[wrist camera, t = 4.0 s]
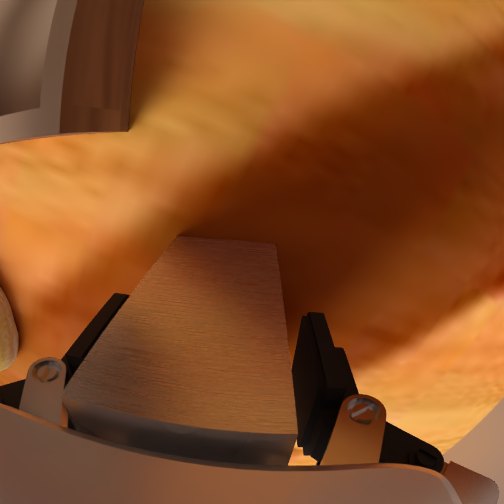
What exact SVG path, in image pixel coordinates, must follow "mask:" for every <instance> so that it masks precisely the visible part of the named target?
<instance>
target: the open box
mask: <svg viewBox="0 0 504 504" xmlns="http://www.w3.org/2000/svg"><path fill="white" fill-rule="evenodd" d="M143 3H144V0H0V144H4V143H10V142H17V141H23V140H31V139H38V138H47V137H56V136H66V135H77V134H90V133H107V132H128V125H129V109H130V97H131V86H132V76H133V67H134V59H135V51H136V44H137V37H138V31H139V25H140V19H141V13H142V8H143Z"/></svg>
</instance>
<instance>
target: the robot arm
mask: <svg viewBox="0 0 504 504" xmlns="http://www.w3.org/2000/svg"><path fill="white" fill-rule="evenodd" d="M128 298H129V295H126V294H119V293H115V294H113V296H112V297H111V298H110V299H109V300H108V301H107V303H106V304H105V305H104V306H103V307H102V309H101V310H100V311H99V312H98V314H97V315H96V316H95V317H94V318H93V320H92V321H91V322H90V323H89V325H88V326H87V327H86V328H85V330H84V331H83V332H82V333H81V335H80V336H79V337H78V339H77V340H76V341H75V342H74V344H73V345H72V346H71V347H70V349H69V350H68V351H67V353H66V354H65V355H64V357H63V358H62V359H61V360H60V359H57V358H53V357H47V358H42V359H39V360H37V361H36V362H34V363H33V364H32V365H31V366H30V368H29V370H28V373H27V377H26V379H24V380H21V381H17V382H13V383H10V384H6V385H3V386H0V504H496V503H497V500H498V497H499V489H498V486H497V484H496V483H495V481H493V480H492V479H490V478H487V477H485V476H483V475H481V474H478V473H476V472H474V471H472V470H469V469H467V468H465V467H463V466H461V465H459V464H456V463H454V462H452V461H450V462H449V463H446V462H444V458H443V456H442V454H441V452H440V451H439V450H438V449H437V448H435V447H434V446H432V445H430V444H428V443H426V442H424V441H422V440H420V439H418V438H417V437H415V436H413V435H411V434H409V433H407V432H405V431H403V430H401V429H399V428H398V427H396V426H394V425H392V424H390V423H388V422H386V409H385V407H384V405H383V404H382V403H381V402H380V401H379V400H377V399H376V398H374V397H372V396H369V395H363V394H359V393H358V390H357V387H356V384H355V381H354V378H353V375H352V372H351V369H350V366H349V363H348V360H347V357H346V354H345V351H344V349H343V348H339V347H334V344H333V341H332V337H331V334H330V331H329V328H328V325H327V322H326V319H325V316H324V313H315V312H308V314H307V316H302V319H301V324H300V330H299V335H298V340H297V345H296V350H295V355H294V360H293V365H292V370H291V371H292V380H293V389H294V398H295V408H296V418H297V428H298V436H297V445H298V447H303V454H304V455H311V457H312V458H314V459H315V460H317V463H316V465H315V466H280V465H254V464H239V463H228V462H218V461H210V460H202V459H194V458H188V457H181V456H175V455H170V454H164V453H159V452H154V451H149V450H144V449H140V448H136V447H131V446H127V445H123V444H119V443H116V442H112V441H108V440H104V439H101V438H98V437H94V436H91V435H88V434H84V433H81V432H78V431H76V429H75V427H74V425H73V423H72V421H71V419H70V417H69V415H68V412H67V410H66V408H65V406H64V403H63V401H62V399H61V396H60V395H61V393H62V392H63V390H64V389H65V387H66V386H67V384H68V383H69V381H70V380H71V378H72V377H73V375H74V374H75V372H76V371H77V369H78V368H79V366H80V365H81V363H82V362H83V360H84V359H85V357H86V356H87V354H88V353H89V352H90V350H91V349H92V347H93V346H94V344H95V343H96V342H97V340H98V339H99V337H100V336H101V335H102V333H103V332H104V330H105V329H106V328H107V326H108V325H109V323H110V322H111V321H112V319H113V318H114V317H115V315H116V314H117V312H118V311H119V310H120V308H121V307H122V306H123V304H124V303H125V302H126V300H127V299H128Z"/></svg>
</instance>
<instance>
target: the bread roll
mask: <svg viewBox="0 0 504 504" xmlns="http://www.w3.org/2000/svg"><path fill="white" fill-rule="evenodd" d="M17 352H18V332H17V328H16V324H15V321H14V317H13V313H12V310H11V307H10V304H9V302H8V300H7V297H6V295H5V293H4V292H3V290H2V288H1V287H0V371H3V370H5V369H6V368H8V367H9V366H10V365H11V364H12V363H13V361H14V360H15V358H16V356H17Z"/></svg>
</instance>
